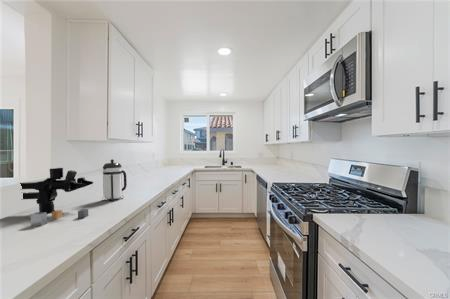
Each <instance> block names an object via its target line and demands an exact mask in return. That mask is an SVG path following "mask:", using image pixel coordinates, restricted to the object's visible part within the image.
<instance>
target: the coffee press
mask: <svg viewBox="0 0 450 299" xmlns="http://www.w3.org/2000/svg"><path fill="white" fill-rule="evenodd" d="M122 167H123V166H122V164H121V163H120V162H115V160H114V159H110V162H108V163H105V164H104V165H103V166H102V181H103V182H102V185H103V186H102V187H103V188H102V189H103V197H102V199H101V201H105V200H111V201H112V202H114V200H115V199H120V198H121V199H122V197H124V195H123V192H124V191H125V190H126V188H127V185H128V184H127V183H128V182H127V173H126V171H125V170H122ZM122 174H123V175H122ZM122 176H123V177H122ZM122 178H123V179H122Z"/></svg>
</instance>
